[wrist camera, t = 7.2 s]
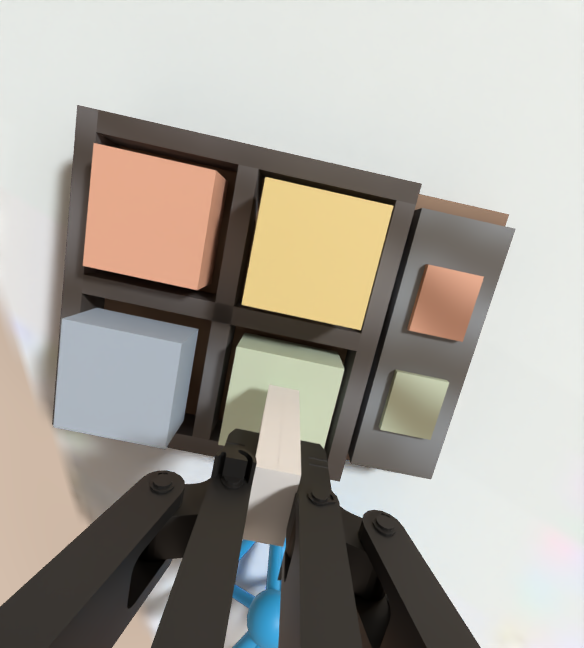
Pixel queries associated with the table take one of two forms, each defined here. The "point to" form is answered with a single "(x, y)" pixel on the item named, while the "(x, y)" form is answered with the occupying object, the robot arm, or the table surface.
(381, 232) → the mustard key
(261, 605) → the molecular structure
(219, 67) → the table surface
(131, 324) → the slate key
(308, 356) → the sage key
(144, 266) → the terracotta key
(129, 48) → the table surface
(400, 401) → the keypad
